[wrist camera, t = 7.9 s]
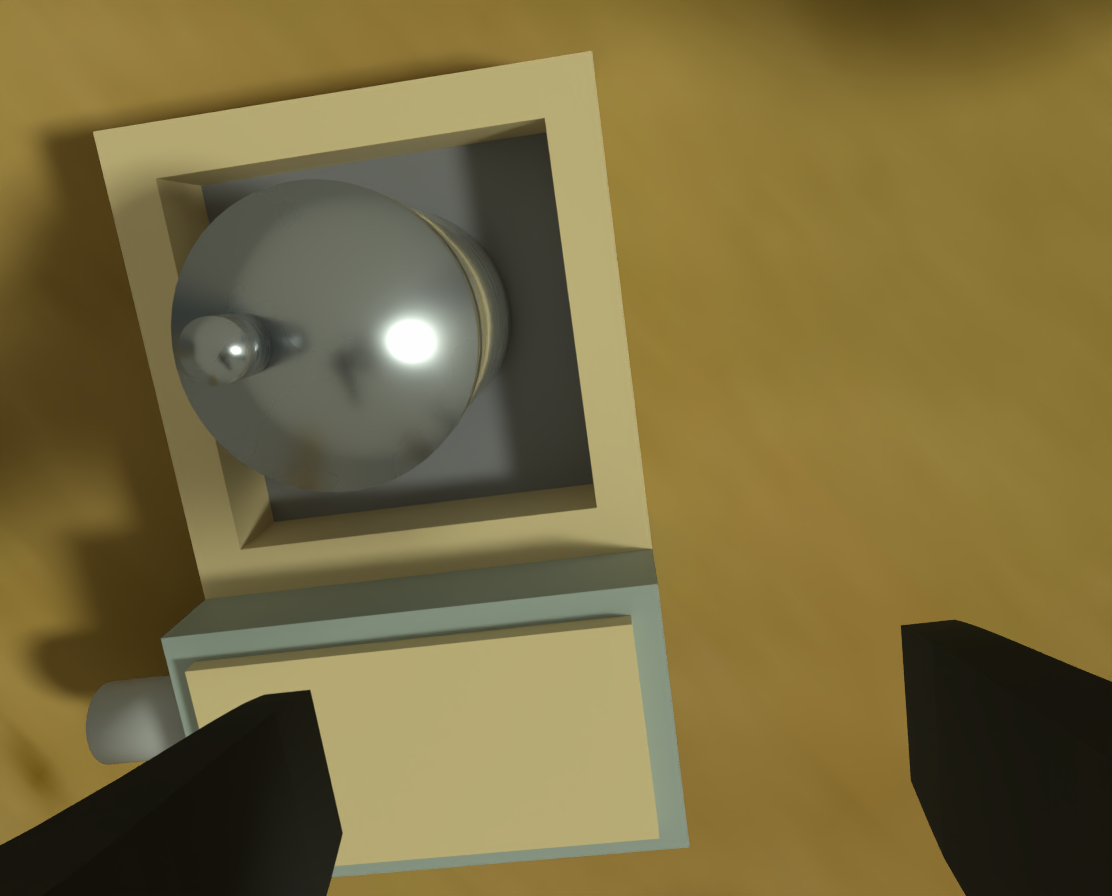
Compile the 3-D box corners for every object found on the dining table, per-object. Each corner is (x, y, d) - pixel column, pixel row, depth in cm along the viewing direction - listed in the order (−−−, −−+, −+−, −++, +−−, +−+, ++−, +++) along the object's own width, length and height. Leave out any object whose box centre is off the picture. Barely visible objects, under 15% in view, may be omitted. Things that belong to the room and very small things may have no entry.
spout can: (509, 198, 18) (455, 163, 12) (521, 425, 19) (477, 506, 13) (284, 209, 18) (113, 181, 12) (307, 431, 19) (161, 514, 13)
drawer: (593, 78, 18) (589, 17, 13) (672, 726, 21) (691, 861, 17) (29, 167, 19) (-158, 141, 14) (185, 773, 22) (73, 911, 18)
